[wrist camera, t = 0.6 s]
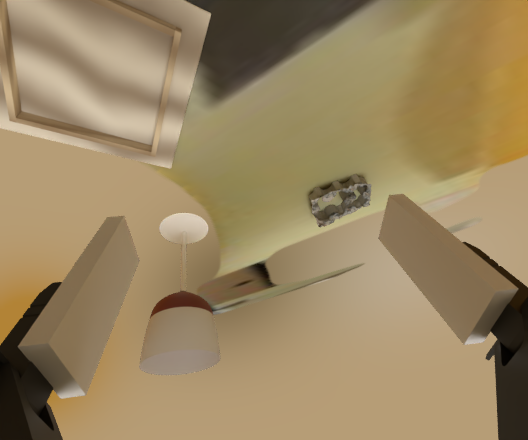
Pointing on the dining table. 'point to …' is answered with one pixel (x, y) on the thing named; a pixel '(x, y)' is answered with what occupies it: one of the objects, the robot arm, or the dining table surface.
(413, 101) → the dining table surface
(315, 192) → the egg carton
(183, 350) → the wineglass
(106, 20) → the serving tray
